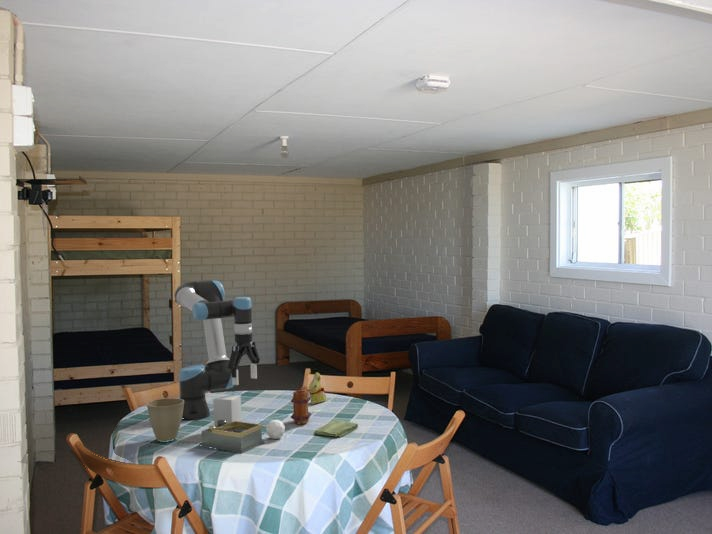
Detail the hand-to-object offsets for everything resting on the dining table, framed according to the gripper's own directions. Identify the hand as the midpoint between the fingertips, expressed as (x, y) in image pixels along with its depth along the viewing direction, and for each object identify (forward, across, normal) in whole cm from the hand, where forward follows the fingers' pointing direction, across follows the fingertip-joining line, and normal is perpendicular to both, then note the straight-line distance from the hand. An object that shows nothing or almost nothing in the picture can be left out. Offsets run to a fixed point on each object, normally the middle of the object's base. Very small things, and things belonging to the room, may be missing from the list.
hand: (244, 381), depth 296 cm
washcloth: (+21, +10, -39) cm, 46 cm away
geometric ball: (+20, -8, -20) cm, 30 cm away
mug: (+21, +18, -18) cm, 33 cm away
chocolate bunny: (+21, +51, -8) cm, 55 cm away
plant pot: (+21, -27, +20) cm, 40 cm away
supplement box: (+21, -7, +4) cm, 22 cm away
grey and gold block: (+20, -22, -9) cm, 31 cm away
